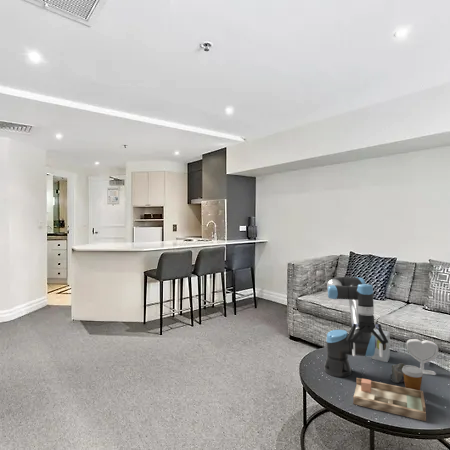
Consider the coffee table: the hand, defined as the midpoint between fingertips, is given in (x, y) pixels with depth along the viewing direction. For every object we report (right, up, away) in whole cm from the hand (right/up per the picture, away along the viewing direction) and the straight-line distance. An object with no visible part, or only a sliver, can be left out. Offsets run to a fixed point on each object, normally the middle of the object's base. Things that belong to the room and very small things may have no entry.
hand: (367, 356), depth 165 cm
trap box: (+6, -19, -10) cm, 22 cm away
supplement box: (+26, -17, +38) cm, 49 cm away
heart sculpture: (+41, -17, +20) cm, 49 cm away
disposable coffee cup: (+23, -18, -1) cm, 29 cm away
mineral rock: (+25, -18, +11) cm, 32 cm away
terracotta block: (-1, -16, -2) cm, 17 cm away
